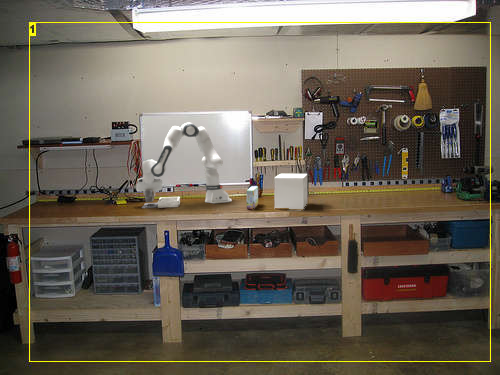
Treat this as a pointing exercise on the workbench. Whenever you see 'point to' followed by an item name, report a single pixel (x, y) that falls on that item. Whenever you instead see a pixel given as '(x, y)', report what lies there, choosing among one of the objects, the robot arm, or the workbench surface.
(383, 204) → the workbench surface
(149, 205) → the rubber mat
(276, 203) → the cube
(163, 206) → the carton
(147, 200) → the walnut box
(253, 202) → the snack box
